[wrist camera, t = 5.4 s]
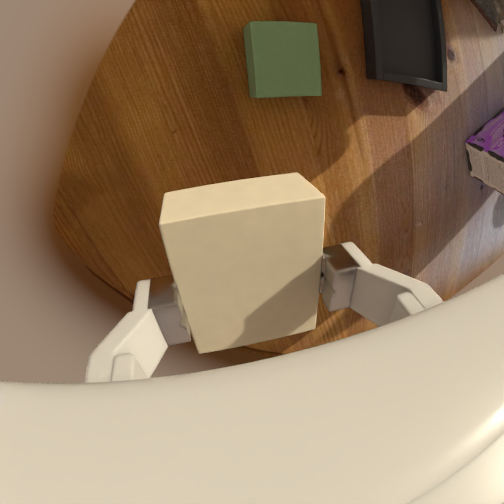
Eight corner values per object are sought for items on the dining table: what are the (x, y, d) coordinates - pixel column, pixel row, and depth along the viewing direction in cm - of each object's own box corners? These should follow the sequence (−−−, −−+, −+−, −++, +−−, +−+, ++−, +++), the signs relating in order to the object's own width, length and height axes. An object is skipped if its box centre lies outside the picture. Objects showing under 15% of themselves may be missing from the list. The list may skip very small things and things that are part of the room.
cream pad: (194, 312, 13) (198, 354, 11) (163, 192, 10) (158, 223, 8) (297, 292, 14) (315, 329, 12) (297, 171, 10) (326, 196, 8)
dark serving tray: (366, 78, 20) (376, 79, 19) (347, -66, 11) (355, -72, 10) (436, 89, 22) (447, 91, 20) (422, -39, 12) (431, -41, 11)
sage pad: (249, 97, 20) (256, 98, 18) (243, 27, 17) (249, 21, 15) (309, 94, 21) (322, 95, 19) (304, 28, 17) (317, 23, 15)
